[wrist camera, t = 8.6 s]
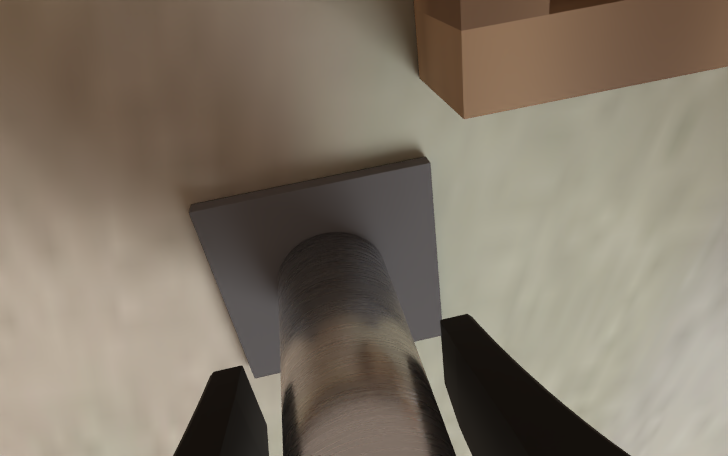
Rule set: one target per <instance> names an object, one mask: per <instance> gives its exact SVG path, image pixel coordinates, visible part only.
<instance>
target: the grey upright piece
mask: <svg viewBox="0 0 728 456" xmlns="http://www.w3.org/2000/svg"><path fill="white" fill-rule="evenodd" d="M278 303H279V335H280V368H281V400H282V433H283V456H456V454H455V452H454V449H453V446H452V443H451V441H450V438H449V435H448V433H447V430H446V427H445V425H444V422H443V419H442V416H441V414H440V411H439V408H438V406H437V403H436V400H435V397H434V395H433V392H432V389H431V387H430V384H429V381H428V378H427V376H426V373H425V370H424V368H423V365H422V362H421V359H420V357H419V354H418V351H417V349H416V346H415V343H414V341H413V338H412V335H411V332H410V330H409V327H408V324H407V322H406V319H405V316H404V313H403V311H402V308H401V305H400V303H399V300H398V297H397V294H396V292H395V289H394V286H393V284H392V281H391V278H390V275H389V273H388V270H387V267H386V265H385V262H384V259H383V257H382V255H381V253H380V252H379V250H378V249H377V248H376V247H375V246H374V245H373V244H372V243H371V242H369V241H368V240H366V239H364V238H362V237H360V236H357V235H354V234H350V233H345V232H329V233H323V234H319V235H315V236H313V237H310V238H308V239H306V240H304V241H302V242H301V243H299V244H298V245H297V246H295V247H294V248H293V249H292V250H291V251H290V252H289V253H288V254H287V256H286V257H285V259H284V260H283V262H282V264H281V266H280V269H279V273H278Z"/></svg>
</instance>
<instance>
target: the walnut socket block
mask: <svg viewBox="0 0 728 456" xmlns="http://www.w3.org/2000/svg"><path fill="white" fill-rule="evenodd" d="M414 13H415V26H416V38H417V51H418V64H419V76H420V79H421V80H422V81H423V82H424V83H425V84H426V85H427V86H429V87H430V88H431V89H432V90H433V91H434V92H435V93H436V94H437V95H438V96H439V97H440V98H442V99H443V100H444V101H445V102H446V103H447V104H448V105H449V106H450V107H451V108H452V109H453V110H455V111H456V112H457V113H458V114H459V115H460V116H461V117H462V118H463V119H467V118H472V117H477V116H482V115H487V114H492V113H497V112H502V111H507V110H512V109H517V108H522V107H527V106H532V105H537V104H542V103H547V102H552V101H557V100H562V99H567V98H572V97H577V96H582V95H587V94H592V93H597V92H602V91H607V90H612V89H617V88H622V87H627V86H632V85H637V84H642V83H647V82H652V81H657V80H662V79H667V78H672V77H677V76H682V75H687V74H692V73H697V72H702V71H707V70H712V69H717V68H722V67H727V66H728V0H414Z"/></svg>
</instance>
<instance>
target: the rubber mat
mask: <svg viewBox="0 0 728 456" xmlns="http://www.w3.org/2000/svg"><path fill="white" fill-rule="evenodd" d="M189 215H190V217H191V220H192V222H193V225H194V227H195V230H196V232H197V235H198V237H199V240H200V242H201V245H202V247H203V250H204V252H205V255H206V257H207V260H208V262H209V265H210V267H211V270H212V272H213V275H214V277H215V280H216V282H217V285H218V287H219V290H220V292H221V295H222V297H223V300H224V302H225V305H226V307H227V310H228V312H229V315H230V317H231V320H232V322H233V325H234V327H235V330H236V332H237V335H238V338H239V340H240V343H241V345H242V348H243V350H244V353H245V355H246V358H247V360H248V363H249V365H250V368H251V370H252V373H253V375H254V378H259V377H264V376H268V375H272V374H277V373H281V368H280V335H279V303H278V273H279V269H280V266H281V264H282V262H283V260H284V259H285V257H286V256H287V254H288V253H289V252H290V251H291V250H292V249H293V248H294V247H295V246H297V245H298V244H299V243H301V242H302V241H304V240H306V239H308V238H310V237H313V236H315V235H319V234H323V233H329V232H345V233H350V234H354V235H357V236H360V237H362V238H364V239H366V240H368V241H369V242H371V243H372V244H373V245H374V246H375V247H376V248H377V249H378V250H379V252H380V253H381V255H382V257H383V259H384V262H385V265H386V267H387V270H388V273H389V275H390V278H391V281H392V284H393V286H394V289H395V292H396V294H397V297H398V300H399V303H400V305H401V308H402V311H403V313H404V316H405V319H406V322H407V324H408V327H409V330H410V332H411V335H412V338H413V341H414V342H415V341H419V340H424V339H428V338H432V337H437V336H441V327H440V320H442V315H441V302H440V288H439V275H438V261H437V248H436V234H435V220H434V207H433V193H432V180H431V166H430V162H429V160H428V159H427V158H426V157H422V158H417V159H412V160H407V161H402V162H398V163H393V164H388V165H383V166H378V167H373V168H368V169H363V170H359V171H354V172H349V173H344V174H339V175H334V176H329V177H324V178H319V179H315V180H310V181H305V182H300V183H295V184H290V185H285V186H280V187H276V188H271V189H266V190H261V191H256V192H251V193H246V194H241V195H236V196H232V197H227V198H222V199H217V200H212V201H207V202H202V203H197V204H193V205H191V207H190V210H189Z"/></svg>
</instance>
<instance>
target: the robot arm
mask: <svg viewBox="0 0 728 456" xmlns="http://www.w3.org/2000/svg"><path fill="white" fill-rule="evenodd" d="M440 327H441V340H442V353H443V366H444V379H445V385H446V388H447V391H448V394H449V397H450V400H451V403H452V406H453V409H454V412H455V415H456V418H457V421H458V424H459V427H460V429H461V431H462V434H463V436H464V438H465V440H466V442H467V445H468V447H469V449H470V451H471V454H472V456H630V455H629V454H628V453H626V452H625V451H623V450H622V449H621V448H619V447H618V446H617V445H615V444H614V443H612V442H611V441H610V440H608V439H607V438H606V437H604V436H603V435H602V434H600V433H599V432H598V431H597V430H595V429H594V428H593V427H591V426H590V425H589V424H588V423H586V422H585V421H584V420H582V419H581V418H580V417H579V416H578V415H576V414H575V413H574V412H573V411H571V410H570V409H569V408H568V407H567V406H565V405H564V404H563V403H562V402H560V401H559V400H558V399H557V398H556V397H555V396H553V395H552V394H551V393H550V392H549V391H548V390H546V389H545V388H544V387H543V386H542V385H541V384H540V383H539V382H538V381H536V380H535V379H534V378H533V377H532V376H531V375H530V374H529V373H528V372H526V371H525V370H524V369H523V368H522V367H521V366H520V365H519V364H518V363H517V362H516V361H515V360H514V359H512V358H511V357H510V356H509V355H508V354H507V353H506V352H505V351H504V350H503V349H502V348H501V347H500V346H499V345H498V344H497V343H496V342H495V341H494V340H493V339H492V338H491V337H490V336H489V335H488V334H487V333H486V332H485V330H484V329H483V328H482V327H481V326H480V325H479V324H478V323H477V322H476V321H475V320H474V319H473V317H471V316H470V315H468V314H465V315H460V316H456V317H452V318H447V319H443V320H440ZM173 456H269V450H268V435H267V424H266V422H265V419H264V417H263V415H262V412H261V410H260V407H259V405H258V402H257V400H256V398H255V395H254V393H253V390H252V388H251V385H250V383H249V380H248V378H247V376H246V373H245V371H244V368H243V366H237V367H233V368H229V369H224V370H220V371H216V372H213V373H212V375H211V376H210V378H209V380H208V382H207V385H206V387H205V389H204V392H203V394H202V396H201V398H200V401H199V403H198V405H197V407H196V409H195V412H194V414H193V416H192V418H191V420H190V422H189V424H188V427H187V429H186V431H185V433H184V435H183V437H182V439H181V441H180V443H179V445H178V447H177V449H176V451H175V453H174V455H173Z"/></svg>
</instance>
